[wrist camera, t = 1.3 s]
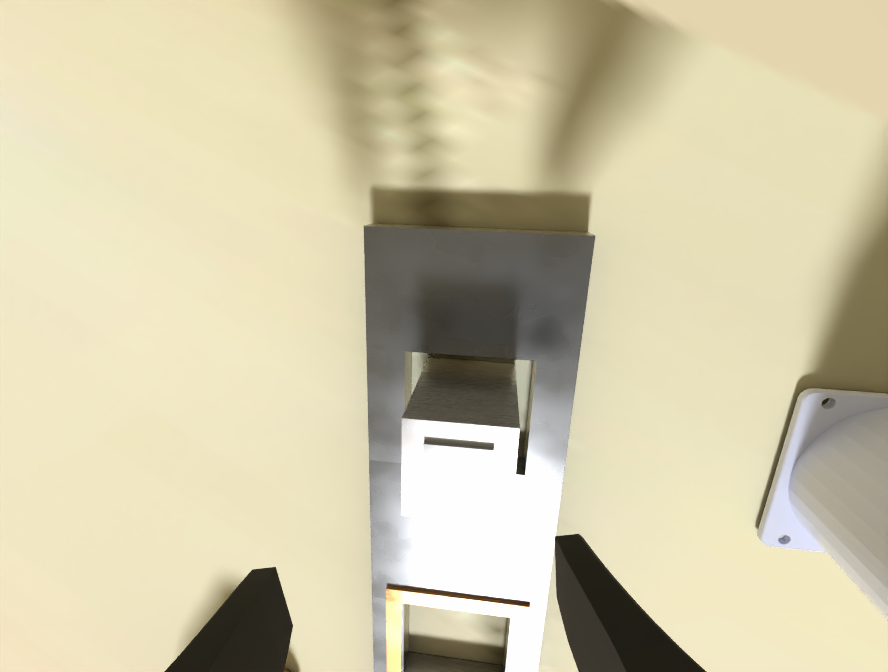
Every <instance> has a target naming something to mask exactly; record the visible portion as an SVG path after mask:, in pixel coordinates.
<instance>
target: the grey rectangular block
mask: <svg viewBox="0 0 888 672" xmlns="http://www.w3.org/2000/svg"><path fill="white" fill-rule="evenodd" d="M519 432H520V424H519V411H518V398H517V385H516V372H515V364H510V363H497V362H483V361H469V360H455V359H442V358H428V360H427V362H426V364H425V367H424V369H423V371H422V373H421V376H420V378H419V380H418V382H417V385H416V387H415V389H414V391H413V394H412V396H411V398H410V400H409V403H408V405H407V407H406V410H405V412H404V414H403V416H402V467H401V515H403V516H412V517H421V518H430V519H439V520H449V521H458V522H467V523H476V524H485V525H494V526H503V527H511V518H512V507H513V497H514V486H515V475H516V464H517V454H518V443H519Z"/></svg>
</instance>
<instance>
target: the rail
mask: <svg viewBox="0 0 888 672" xmlns="http://www.w3.org/2000/svg"><path fill="white" fill-rule="evenodd" d="M594 241H595V235H593V234H590V233H588V232H567V231H543V230H518V229H494V228H470V227H446V226H422V225H398V224H370V225H366V226H364V253H365V297H366V341H367V385H368V430H369V474H370V518H371V562H372V607H373V651H374V672H538V666H539V658H540V650H541V643H542V635H543V628H544V620H545V612H546V605H547V597H548V590H549V582H550V575H551V567H552V559H553V552H554V544H555V536H556V529H557V521H558V514H559V506H560V499H561V491H562V484H563V476H564V468H565V461H566V453H567V446H568V438H569V431H570V423H571V415H572V408H573V400H574V393H575V385H576V377H577V370H578V362H579V355H580V347H581V340H582V332H583V324H584V317H585V309H586V302H587V294H588V286H589V279H590V271H591V264H592V256H593V249H594ZM412 352H422V353H436V354H450V355H464V356H478V357H492V358H506V359H520V360H533V367H532V377H531V387H530V397H529V407H528V417H527V427H526V438H525V448H524V457H517V464H516V475H515V486H514V497H513V507H512V518H511V527H503V526H494V525H485V524H476V523H467V522H458V521H449V520H439V519H430V518H421V517H412V516H403V515H401V467H402V416H403V414H404V412H405V410H406V407H407V405H408V403H409V400H410V398H411V354H412ZM409 604H413V605H421V606H428V607H436V608H444V609H451V610H459V611H466V612H474V613H481V614H489V615H497V616H504V617H508V620H507V630H506V640H505V651H504V661H503V666H502V665H495V664H488V663H481V662H474V661H467V660H460V659H453V658H447V657H440V656H433V655H426V654H419V653H412V652H409Z"/></svg>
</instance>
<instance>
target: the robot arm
mask: <svg viewBox="0 0 888 672" xmlns="http://www.w3.org/2000/svg"><path fill="white" fill-rule="evenodd" d="M826 398H829V401H828V402H827V403H826V404H824V405H822V402H823V400H825V399H826ZM782 535H785V536H784V537H782V538H779V537H780V536H782ZM757 536H758V538H759V539H760V541H761V542H762V543H763V544H764V545H766V546H770V547H780V548H789V549H798V550H807V551H816V552H825V553H827V554H828V555H829V556H830V557H831V558H832V559H833V560H834V562H835V563H836V564H837V565H838V566H839V567H840V568H841V569H842V570H843V571H844V573H845V574H846V575H847V576H848V577H849V578H850V579H851V580H852V581H853V583H854V584H855V585H856V586H857V587H858V588H859V589H860V590H861V591H862V593H863V594H864V595H865V596H866V597H867V598H868V599H869V600H870V601H871V603H872V604H873V605H874V606H875V607H876V608H877V609H878V610H879V611H880V612H881V614H882V615H883V616H884V617H885V618H886V619H887V620H888V394H887V393H873V392H860V391H846V390H832V389H819V388H809V389H806V390H804V391H803V392H801V393H800V395H799V396H798V398H797V402H796V405H795V408H794V412H793V415H792V418H791V422H790V425H789V428H788V432H787V435H786V438H785V442H784V445H783V448H782V452H781V455H780V458H779V462H778V465H777V468H776V472H775V475H774V478H773V482H772V485H771V489H770V492H769V495H768V499H767V502H766V505H765V509H764V512H763V515H762V519H761V522H760V525H759V529H758V532H757ZM555 560H556V589H557V600H558V604H559V608H560V612H561V616H562V620H563V624H564V628H565V631H566V635H567V639H568V642H569V645H570V648H571V651H572V654H573V657H574V659H575V662H576V665H577V668H578V671H579V672H706V671H705V670H704V669H703V668H702V667H701V666H699V665H698V664H697V663H696V662H695V661H694V660H693V659H692V658H691V657H690V656H689V655H688V654H687V653H685V652H684V651H683V650H682V649H681V648H680V647H679V646H678V645H677V644H676V643H675V642H674V641H673V640H672V639H671V638H670V637H669V636H668V635H667V634H666V633H665V632H664V631H663V630H662V629H661V628H660V627H659V626H658V625H657V624H656V623H655V622H654V621H653V620H652V619H651V618H650V616H649V615H648V614H647V613H646V612H645V611H644V610H643V609H642V608H641V607H640V606H639V605H638V604H637V602H636V601H635V600H634V599H633V598H632V597H631V596H630V595H629V594H628V592H627V591H626V590H625V589H624V588H623V587H622V586H621V585H620V583H619V582H618V581H617V580H616V579H615V578H614V576H613V575H612V574H611V573H610V572H609V570H608V569H607V568H606V567H605V565H604V564H603V563H602V562H601V561H600V559H599V558H598V557H597V555H596V554H595V553H594V552H593V550H592V549H591V548H590V546H589V545H588V544H587V542H586V541H585V540H584V538H583V537H582V536H580V535H579V534H573V535H564V536H555ZM292 628H293V624H292V621H291V618H290V614H289V611H288V607H287V604H286V601H285V597H284V594H283V590H282V587H281V584H280V580H279V577H278V574H277V570H276V567H272V568H263V569H254V570H252V571H251V572H250V573H249V574H248V575H247V576H246V578H245V579H244V580H243V581H242V582H241V583H240V585H239V586H238V587H237V588H236V589H235V591H234V592H233V593H232V594H231V595H230V596H229V598H228V599H227V600H226V601H225V603H224V604H223V605H222V606H221V607H220V608H219V610H218V611H217V612H216V613H215V614H214V616H213V617H212V618H211V619H210V620H209V622H208V623H207V624H206V625H205V626H204V627H203V629H202V630H201V631H200V632H199V633H198V634H197V636H196V637H195V638H194V639H193V640H192V641H191V643H190V644H189V645H188V646H187V647H186V648H185V650H184V651H183V652H182V653H181V654H180V655H179V656H178V657H177V659H176V660H175V661H174V662H173V663H172V664H171V665H170V666H169V667H168V668H167V669H166V671H165V672H284V668H285V663H286V658H287V654H288V649H289V644H290V638H291V633H292Z"/></svg>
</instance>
